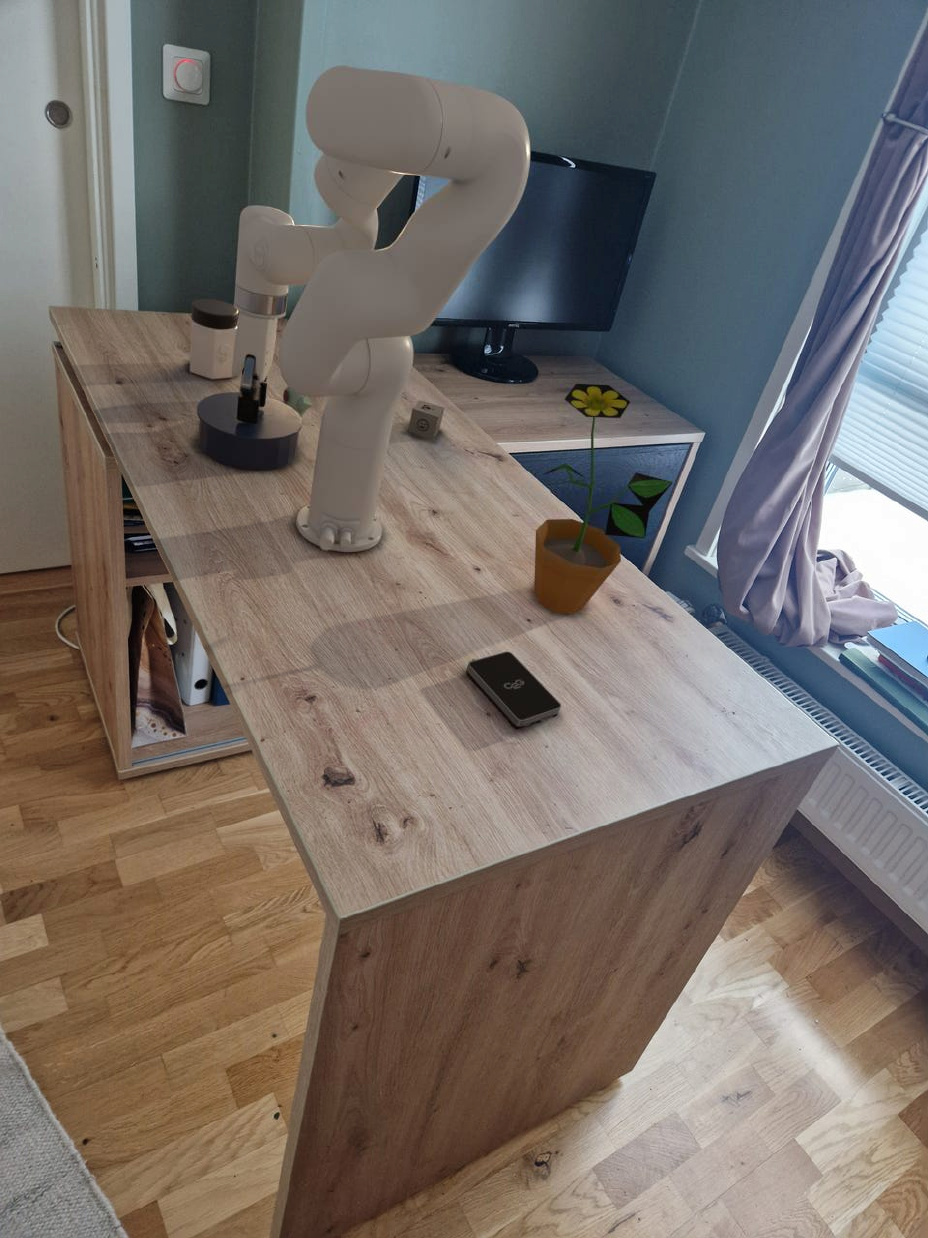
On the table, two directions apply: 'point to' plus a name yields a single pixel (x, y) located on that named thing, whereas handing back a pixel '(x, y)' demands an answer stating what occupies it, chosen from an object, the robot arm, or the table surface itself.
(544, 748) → the table surface
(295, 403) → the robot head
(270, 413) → the lid
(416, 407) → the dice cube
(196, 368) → the jar
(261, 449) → the tin
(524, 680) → the external hard drive
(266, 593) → the table surface
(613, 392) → the potted plant
